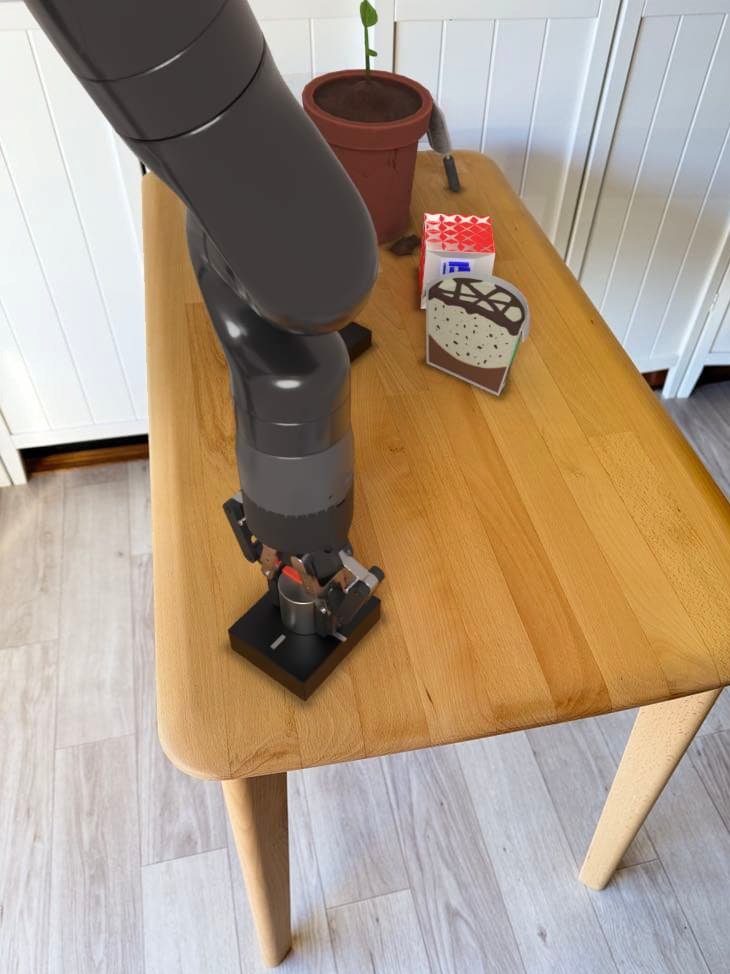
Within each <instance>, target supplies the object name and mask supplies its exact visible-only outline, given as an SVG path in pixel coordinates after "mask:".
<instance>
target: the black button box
mask: <svg viewBox="0 0 730 974" xmlns="http://www.w3.org/2000/svg"><path fill="white" fill-rule="evenodd" d="M337 332H338V333H339V334H340V336H341V337H342V339H343V341H344V343H345V345H346V347H347V351H348V355H349V359H350V364H352V363H353V362H354V361H355V360H356V359H358V358H359V357H360V356H361V355H363V354H365V352H366V351H368V350H369V349H370V348H371V347H372V343H373V331H372V329H369V328H367V327H365V326H363V325H361V324H360V323H357V322H355V321H354V320H353V321H352V322H351V323H349V324H348V325H347V326H345V327H344V328H342V329H340V330H338V331H337Z"/></svg>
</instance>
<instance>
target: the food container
mask: <svg viewBox="0 0 730 974" xmlns="http://www.w3.org/2000/svg"><path fill="white" fill-rule="evenodd" d="M425 296H426V309H425V314H426V315H425V319H426V320H425V324H426V325H425V326H426V327H425V328H426V329H425V331H426V332H425V335H426V336H425V337H426V339H425V340H426V341H425V342H426V343H425V344H426V353H425V354H426V355H425V356H426V364H427V365H430V366H432V367H434V368H436V369H439V370H441V371H442V372H445V373H447V374H449V375H451V376H453V377H456V378H458V379H460V380H463V381H465V382H467V383H468V384H471V385H473V386H476V387H478V388H479V389H482V390H483V391H486V392H488V393H491V394H493V395H496V396H497V397H500V395H501V394H502V393H503V391H504V388H505V385H506V383H507V379H508V377H509V374H510V371H511V368H512V365H513V362H514V359H515V356H516V353H517V350H518V347H519V344H520V341H522V343H525V342H526V340H527V339H528V337H529V334H530V330H531V314H530V307H529V305H528V302H527V299H526V297H525V295H524V294H523V293H522V292H521V290H519V289H518V288H517V287H516V286H515V285H514V284H511V283H510V282H509V281H506V279H503V278H500V277H498V276H495V275H493V274H492V275H489V274H485V273H479V272H468V271H466V272H453V273H448V274H444V275H441V276H438V277H436V278H434V279H432V280H431V281H429V282H428V283H427V285H426V287H424V290H423V293H422V296H421V299H423V298H424V297H425ZM521 338H522V339H521Z"/></svg>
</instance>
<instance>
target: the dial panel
mask: <svg viewBox="0 0 730 974" xmlns="http://www.w3.org/2000/svg"><path fill="white" fill-rule="evenodd" d="M344 580H346V577H344ZM345 584H346V582H345ZM346 586H347V584H346ZM331 590H332V589H331ZM331 590H330V591H331ZM266 591H267V592H265V593H264V594H263V595H262V596H261V597H260V598H259V599H258V600H257V601H256V602H255V603H254V604H253V605H252V606H251V607H250V608H249V609H248V610H247V611H246V612H245V613H243V615H241V616H240V617H239V618H238V619H237V620H236V621H235V622H234V623H233V624H232V625H231V626H230V627H229V628H228V629H227V634H228V639H229V643H230V648H231V650H232V651H234V652H235V653H237V654H238V655H239V656H241V657H242V658H243V659H245V660H246V661H248V662H249V663H250V664H252V665H253V666H255V667H256V668H257V669H259V670H260V671H261V672H263V673H264V674H265V675H267V676H268V677H269V678H271V679H273V680H274V681H276V682H277V683H278V684H280V686H282V687H284V688H285V689H287V691H288V692H289V691H290V693H292V694H293V695H295V696H296V697H298V698H299V699H301V701H303V702H307V700H308V699H309V698H310V697H311V696H313V693H315V692H316V690H317V689H318V688H319V687H320V686H321V685H322V684H323V682H325V680H326V679H327V678H328V677H329V676H330V675H331V674H332V673H333V672H334V670H335V669H336V668H337V667H338V666H339V665H340V664H341V663H342V662H343V661H344V660H345V658H346V657H347V656H348V655H349V654H350V653H351V652H352V650H354V649H355V648H356V646H357V645H358V644H359V643H360V642H361V641H362V640H363V639H364V637H366V635H367V634H368V633H369V632H370V631H371V630H372V629H373V627H374V626H375V625H376V624H377V623H378V622H379V621H380V619H381V608H382V599H380V598H379V597H377V596H376V595H374V594H373V595H372V596H371V598H370V599H369V600H368V602H367V603H366V604H365V605H364V606H363V607H362V608H361V609H360V610H359V611H358V612H357V613H356V614H355V615H354V616H353V617H352V619H351V620H350V621H349V622H348V623H347V624H346V625H344V624H341V626H340V627H339V628H338V629H337V630H336V631H335V632H334V633H333V634H332V635H329V634H328V635H327V636H326V637H322V636H321V635H319V634H318V633H317V632H316V633H313V634H308V635H302V634H297V633H294V632H292V631H290V630H289V629H288V628H287V627H286V626H285V625H284V623H283V621H282V618H281V609H280V607H278V606H277V605H275V604H274V603H272V597H271V594H270V592H269V590H268V587H267V588H266Z"/></svg>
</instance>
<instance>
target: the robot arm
mask: <svg viewBox="0 0 730 974" xmlns="http://www.w3.org/2000/svg"><path fill="white" fill-rule="evenodd" d="M22 2H23V3H24V5H25V6H26V8H27V10H28V11H29V13H30V14H31V16H32V18H33V19H34V20H35V22H36V23H37V25H38V26H39V27H40V29H41V31H42V32H43V33H44V35H45V36H46V38H47V39H48V41H49V42H50V44H51V45H52V46H53V48H54V49H55V50H56V53H58V55H59V57H60V58H61V59H62V61H63V62H64V63H65V65H66V66H67V68H68V69H69V70H70V71H71V73H72V74H73V75H74V77H75V78H76V80H77V81H78V82H79V84H80V85H81V87H82V88H83V90H84V91H85V92H86V94H87V95H88V96H89V98H90V99H91V100H92V101H93V103H94V105H95V106H96V107H97V109H98V110H99V111H100V113H101V114H102V115H103V117H104V118H105V119H106V121H107V122H108V123H109V125H110V126H111V127H112V129H113V130H114V131H115V133H116V134H117V135H118V137H119V138H120V139H121V141H122V142H123V143H124V144H125V146H126V147H127V148H128V149H129V150H130V151H131V152H132V153H133V155H134V156H135V157H136V158H137V159H138V160H139V162H141V164H143V165H144V166H145V168H147V169H148V170H149V171H150V172H151V173H152V174H153V175H154V177H156V178H157V179H158V180H159V181H160V182H162V183H163V184H164V185H165V186H166V188H168V189H169V190H170V191H171V193H173V194H174V195H175V196H176V197H177V198H178V199H179V201H180V202H181V203H183V205H184V206H185V212H184V228H185V229H184V230H185V231H184V232H185V239H186V247H187V251H188V255H189V259H190V263H191V267H192V271H193V273H194V277H195V280H196V283H197V285H198V289H199V292H200V294H201V295H200V296H201V297H202V300H203V303H204V306H205V308H206V312H207V314H208V317H209V320H210V323H211V326H212V328H213V331H214V333H215V336H216V338H217V340H218V343H219V345H220V348H221V350H222V352H223V355H224V358H225V360H226V364H227V368H228V369H227V370H228V375H229V378H228V379H229V389H230V391H229V392H230V397H231V405H232V411H233V418H234V425H235V431H234V432H235V433H234V452H235V460H236V468H237V473H238V480H239V486H240V489H239V490H238V491H237V492H236V493H235V494H233V495H232V496H231V497H230V498H229V499H227V500H226V501H224V503H222V505H221V506H222V509H223V511H224V514H225V516H226V519H227V521H228V523H229V525H230V527H231V530H232V532H233V534H234V536H235V538H236V541H237V544H238V546H239V548H240V550H241V553H242V555H243V557H244V559H246V561H248V562H249V563H250V564H255V563H256V562H258V564H260V565H261V566H260V571H261V574H262V575H263V576H264V577H265V578H266V583H267V588H268V590H269V592H270V594H271V597H272V603H274V604H275V605H277V606H278V607H280V599H279V590H278V580H279V577H280V575H281V573H282V572H283V571H282V569H283V568H285V567H286V566H290V567H293V568H294V569H295V570H297V571H298V573H299V576H300V579H301V581H302V584H303V587H304V590H305V593H306V594H308V595H310V596H312V597H313V599H314V602H315V605H316V607H317V608H316V609H315V616H316V632H317V633H318V634H319V635H321V636H322V637H326V636H327V635H328V634H329V635H332V634H333V633H334V632H335V631H336V630H337V629H338V628H339V627H340V626H341V624H344V625H346V624H347V623H348V622H349V621H350V620H351V619H352V617H353V616H354V615H355V614H356V613H357V612H358V611H359V610H360V609H361V608H362V607H363V606H364V605H365V604H366V603H367V602H368V600H369V599H370V598H371V596H372V595H374V593H375V592H376V591H377V589H378V587H379V586H380V585H381V583H382V582H383V581H384V580H385V578H386V574H385V571H383V569H382V568H381V567H379V566H377V565H372V566H370V568H369V569H367V568H366V567H364V566H363V565H362V564H361V563H360V562H358V561H357V560H356V559H355V558H354V554H355V552H354V547H353V545H352V543H351V541H350V538H349V533H350V530H351V526H352V524H353V519H354V514H355V449H356V448H355V437H354V430H353V425H352V368H351V367H352V366H351V363H350V359H349V355H348V351H347V347H346V345H345V343H344V341H343V339H342V337H341V336H340V334H339V333H338V332H337V331H338V330H340V329H342V328H344V327H345V326H347V325H348V324H349V323H351V322H352V321H353V322H354V320H356V318H358V316H360V314H361V313H362V312H363V310H364V309H365V308H366V306H367V304H368V303H369V301H370V299H371V297H372V295H373V293H374V290H375V288H376V284H377V280H378V276H379V270H380V249H379V248H380V247H379V244H378V240H377V235H376V231H375V227H374V224H373V221H372V218H371V216H370V213H369V211H368V209H367V207H366V205H365V203H364V201H363V199H362V197H361V195H360V194H359V192H358V190H357V188H356V187H355V185H354V183H353V182H352V180H351V179H350V177H349V175H348V174H347V172H346V171H345V169H344V168H343V166H342V165H341V163H340V162H339V160H338V159H337V157H336V156H335V154H334V153H333V151H332V149H331V148H330V146H329V145H328V143H327V142H326V140H325V139H324V137H323V136H322V134H321V133H320V131H319V130H318V128H317V127H316V125H315V124H314V123H313V121H312V120H311V118H310V117H309V116H308V114H307V113H306V112H305V110H304V109H303V105H301V103H300V102H299V101H298V98H296V96H295V95H294V93H293V92H292V90H291V89H290V87H289V85H288V83H286V81H285V79H284V77H283V76H282V74H281V72H280V70H279V68H278V66H277V64H276V62H275V59H274V56H273V53H272V51H271V49H270V47H269V44H268V42H267V40H266V36H265V35H264V32H263V31H262V29H261V25H260V24H259V22H258V20H257V18H256V15H255V13H254V12H253V10H252V7H251V4H250V3H249V1H248V0H22ZM253 537H254V538H255V539H256V540H254V541H252V538H253ZM344 577H346V580H344ZM345 582H346V584H347V586H346V584H345ZM331 589H332V590H331ZM330 590H331V591H330ZM329 591H330V592H329ZM328 592H329V593H328Z"/></svg>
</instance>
